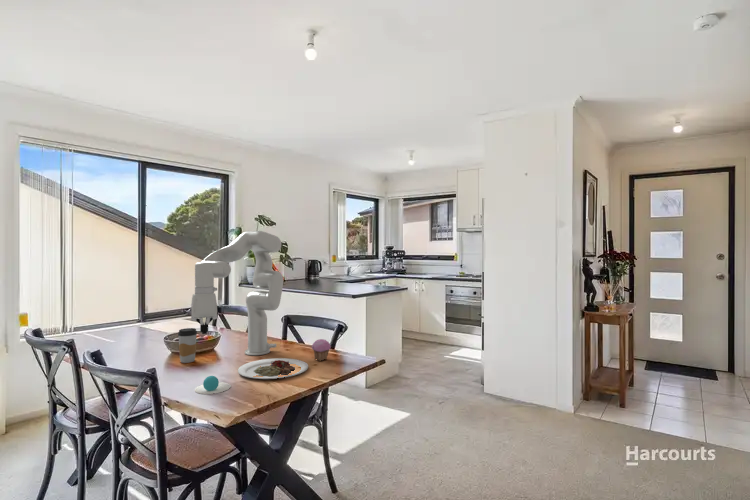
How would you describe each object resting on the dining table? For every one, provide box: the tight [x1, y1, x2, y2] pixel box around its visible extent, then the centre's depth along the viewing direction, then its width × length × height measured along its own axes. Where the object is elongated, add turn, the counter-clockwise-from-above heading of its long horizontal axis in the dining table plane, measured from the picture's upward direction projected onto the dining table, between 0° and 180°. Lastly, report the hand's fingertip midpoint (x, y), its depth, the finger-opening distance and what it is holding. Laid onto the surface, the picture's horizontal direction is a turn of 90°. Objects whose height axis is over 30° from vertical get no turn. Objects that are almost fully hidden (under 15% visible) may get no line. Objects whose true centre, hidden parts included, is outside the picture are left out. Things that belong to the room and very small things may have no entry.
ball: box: [202, 375, 220, 391], centre depth 159 cm, size 6×6×6 cm
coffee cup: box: [177, 327, 198, 364], centre depth 199 cm, size 8×8×15 cm
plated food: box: [237, 357, 309, 380], centre depth 184 cm, size 30×30×3 cm
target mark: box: [194, 381, 232, 395], centre depth 161 cm, size 13×13×1 cm
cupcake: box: [311, 338, 331, 361], centre depth 202 cm, size 9×9×10 cm
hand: (204, 333), depth 180 cm, fingers closed
